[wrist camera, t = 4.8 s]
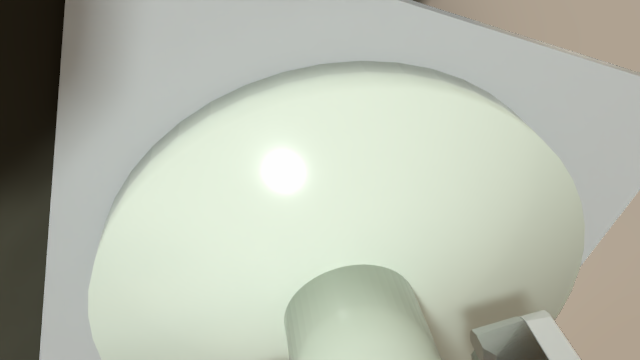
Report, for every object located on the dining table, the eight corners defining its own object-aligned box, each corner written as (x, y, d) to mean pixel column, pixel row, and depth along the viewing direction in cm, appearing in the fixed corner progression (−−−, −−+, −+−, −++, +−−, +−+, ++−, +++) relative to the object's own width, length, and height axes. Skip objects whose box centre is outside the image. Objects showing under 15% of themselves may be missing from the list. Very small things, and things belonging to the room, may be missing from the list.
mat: (447, 422, 18) (451, 433, 18) (39, 407, 14) (35, 421, 14) (696, 90, 12) (710, 98, 11) (78, -106, 8) (72, -103, 7)
